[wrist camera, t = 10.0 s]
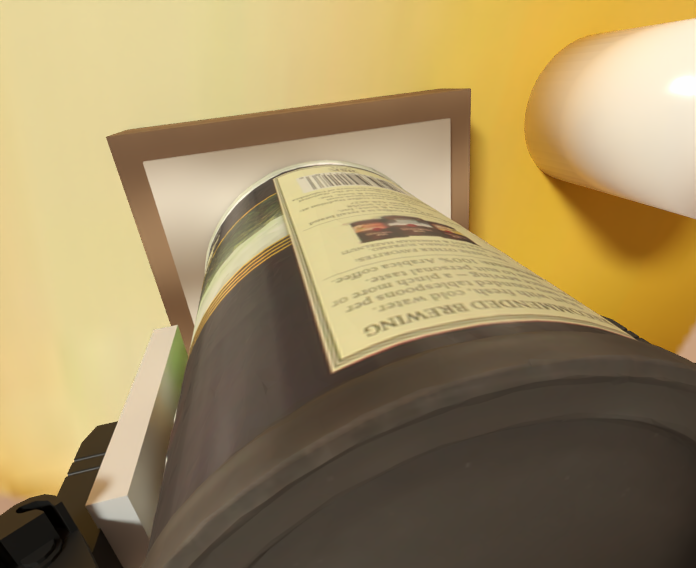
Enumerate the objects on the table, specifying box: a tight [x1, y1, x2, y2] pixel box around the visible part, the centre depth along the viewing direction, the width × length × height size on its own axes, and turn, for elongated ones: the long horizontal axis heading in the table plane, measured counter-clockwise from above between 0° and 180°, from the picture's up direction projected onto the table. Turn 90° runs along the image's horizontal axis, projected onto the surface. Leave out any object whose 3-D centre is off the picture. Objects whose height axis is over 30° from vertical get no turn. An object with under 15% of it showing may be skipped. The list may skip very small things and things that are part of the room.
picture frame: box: [106, 89, 471, 356], centre depth 20 cm, size 14×14×3 cm
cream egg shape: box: [525, 18, 696, 219], centre depth 18 cm, size 7×7×8 cm
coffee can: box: [140, 160, 696, 568], centre depth 13 cm, size 10×10×14 cm
